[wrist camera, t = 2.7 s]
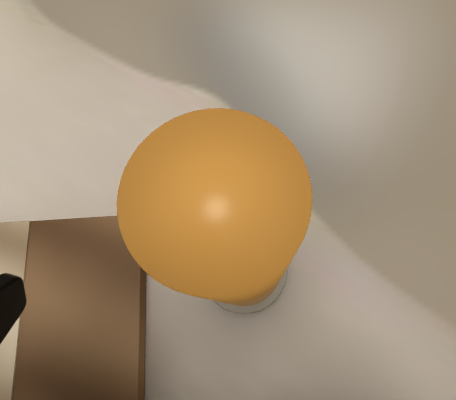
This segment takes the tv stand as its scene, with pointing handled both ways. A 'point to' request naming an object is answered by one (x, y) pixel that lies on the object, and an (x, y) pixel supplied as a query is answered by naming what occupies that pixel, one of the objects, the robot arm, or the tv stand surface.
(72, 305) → the subfloor panel
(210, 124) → the orange rounded post
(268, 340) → the tv stand surface
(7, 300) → the robot arm
